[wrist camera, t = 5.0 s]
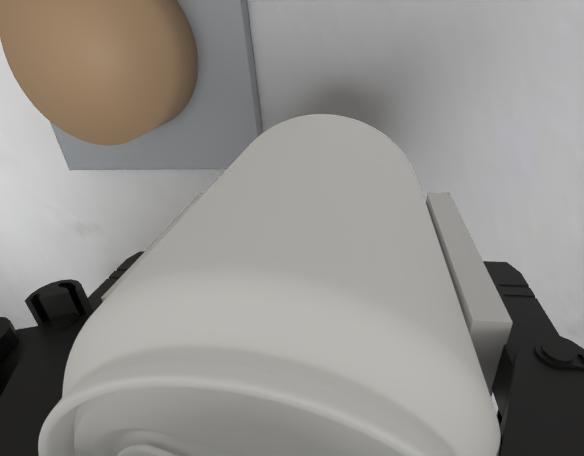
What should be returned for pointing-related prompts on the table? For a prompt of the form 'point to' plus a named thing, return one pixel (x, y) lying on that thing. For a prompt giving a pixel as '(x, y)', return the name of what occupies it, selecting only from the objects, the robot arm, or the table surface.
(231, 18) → the pedestal
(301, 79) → the table surface
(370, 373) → the beverage can
